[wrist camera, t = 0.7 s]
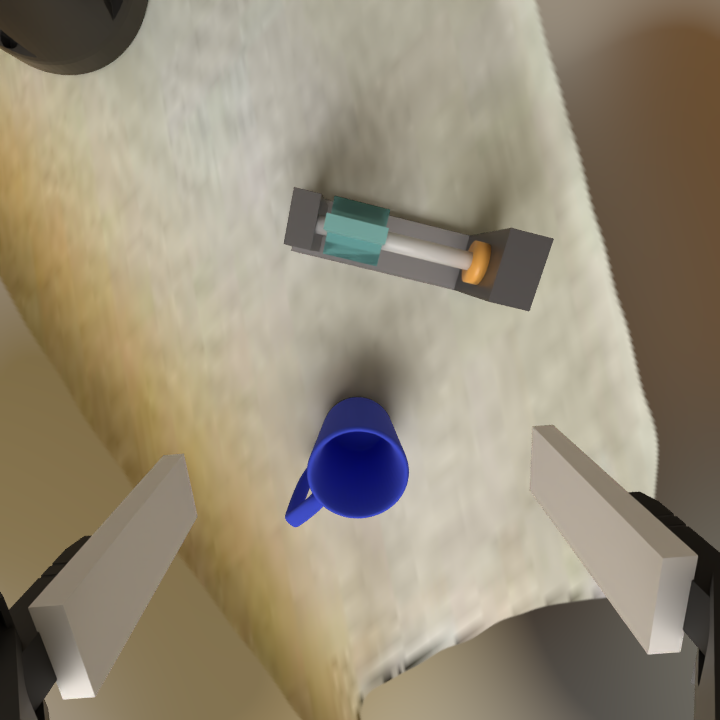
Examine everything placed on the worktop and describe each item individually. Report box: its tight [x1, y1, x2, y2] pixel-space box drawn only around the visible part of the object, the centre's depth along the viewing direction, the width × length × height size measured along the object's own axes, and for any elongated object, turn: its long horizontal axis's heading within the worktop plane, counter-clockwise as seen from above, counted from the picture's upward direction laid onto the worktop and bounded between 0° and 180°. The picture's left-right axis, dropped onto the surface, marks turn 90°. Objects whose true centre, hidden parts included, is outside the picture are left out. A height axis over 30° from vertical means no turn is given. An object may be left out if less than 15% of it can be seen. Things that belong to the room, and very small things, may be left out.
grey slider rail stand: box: [284, 187, 554, 311], centre depth 33 cm, size 19×5×11 cm, turn 77°
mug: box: [285, 397, 409, 527], centre depth 38 cm, size 8×12×10 cm
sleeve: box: [323, 196, 390, 267], centre depth 29 cm, size 4×4×8 cm
